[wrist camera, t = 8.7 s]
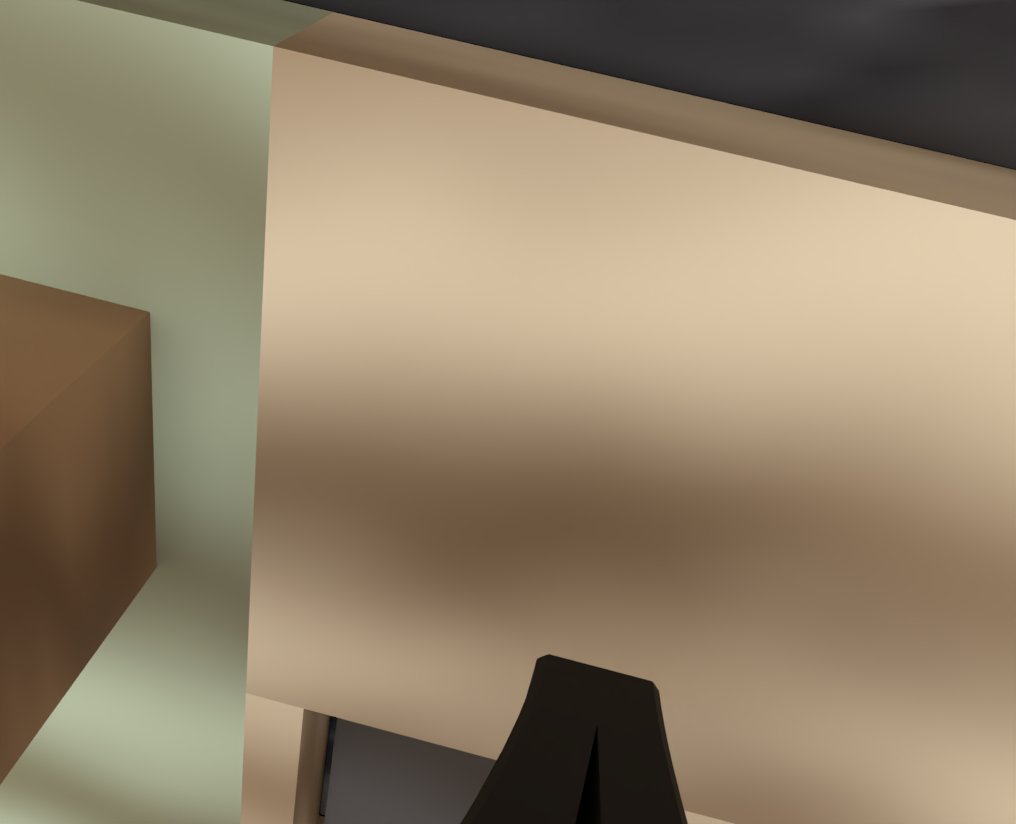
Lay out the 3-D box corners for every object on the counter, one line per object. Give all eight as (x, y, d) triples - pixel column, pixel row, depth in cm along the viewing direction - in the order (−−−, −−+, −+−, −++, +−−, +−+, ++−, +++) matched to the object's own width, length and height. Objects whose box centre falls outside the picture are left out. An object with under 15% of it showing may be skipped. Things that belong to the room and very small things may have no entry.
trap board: (1343, 1136, 21) (1399, 1254, 19) (21, 773, 22) (-35, 852, 20) (2393, 488, 11) (2699, 614, 9) (-123, -95, 12) (-254, -77, 11)
